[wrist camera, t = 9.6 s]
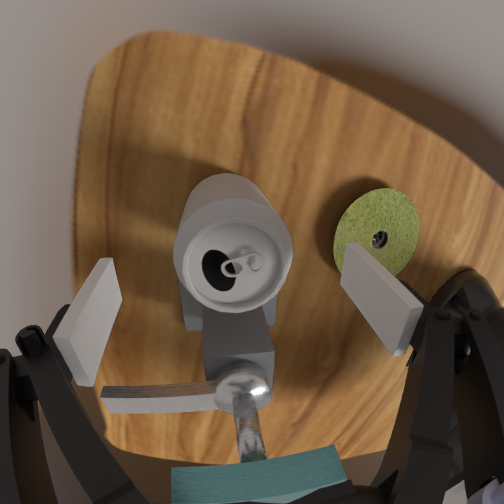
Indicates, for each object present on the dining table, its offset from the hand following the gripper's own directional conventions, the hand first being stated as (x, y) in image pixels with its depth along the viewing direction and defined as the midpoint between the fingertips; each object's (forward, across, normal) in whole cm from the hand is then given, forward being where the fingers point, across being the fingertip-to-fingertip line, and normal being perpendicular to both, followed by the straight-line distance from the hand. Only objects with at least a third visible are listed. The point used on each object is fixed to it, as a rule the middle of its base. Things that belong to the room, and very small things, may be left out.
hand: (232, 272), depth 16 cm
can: (+13, 0, 0) cm, 13 cm away
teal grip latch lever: (0, +3, +10) cm, 10 cm away
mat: (+13, -16, +3) cm, 21 cm away
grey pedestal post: (+12, 0, +9) cm, 16 cm away
